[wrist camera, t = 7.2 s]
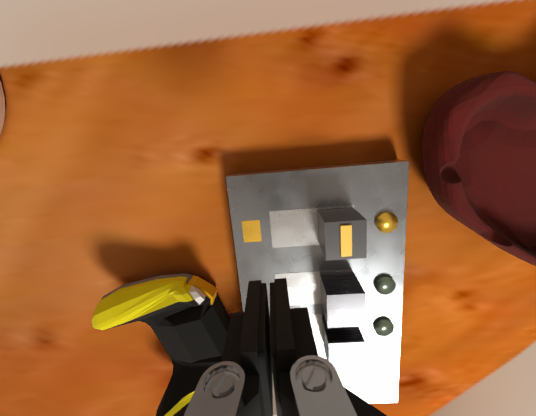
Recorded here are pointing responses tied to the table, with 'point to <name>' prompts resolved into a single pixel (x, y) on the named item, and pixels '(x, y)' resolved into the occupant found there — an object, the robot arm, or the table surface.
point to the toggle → (342, 234)
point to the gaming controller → (172, 326)
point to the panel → (331, 261)
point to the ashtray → (486, 159)
